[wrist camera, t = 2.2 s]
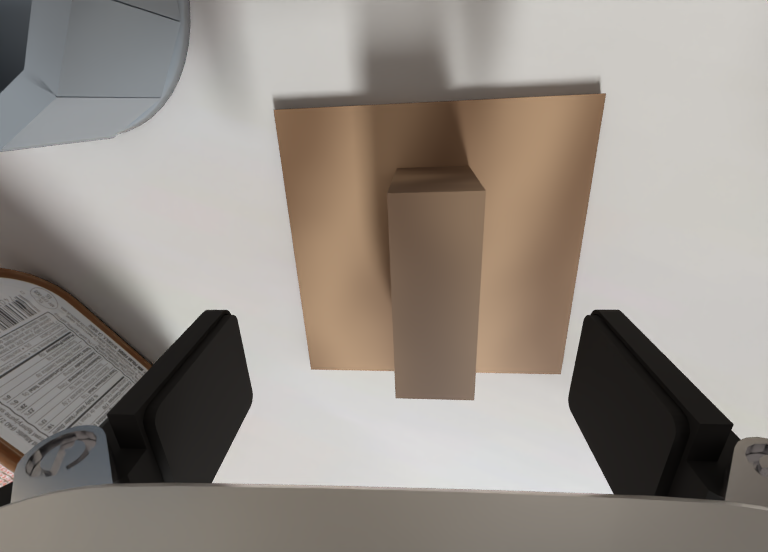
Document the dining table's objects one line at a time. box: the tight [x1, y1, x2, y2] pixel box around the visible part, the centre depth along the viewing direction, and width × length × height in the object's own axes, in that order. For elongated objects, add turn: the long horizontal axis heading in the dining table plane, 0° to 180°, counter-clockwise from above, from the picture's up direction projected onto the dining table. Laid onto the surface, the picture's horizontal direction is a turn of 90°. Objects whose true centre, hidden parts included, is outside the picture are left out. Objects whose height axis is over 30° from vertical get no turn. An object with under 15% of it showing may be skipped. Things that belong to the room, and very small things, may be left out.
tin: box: [0, 268, 152, 487], centre depth 19 cm, size 15×3×8 cm, turn 39°
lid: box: [274, 94, 606, 400], centre depth 17 cm, size 13×13×6 cm
